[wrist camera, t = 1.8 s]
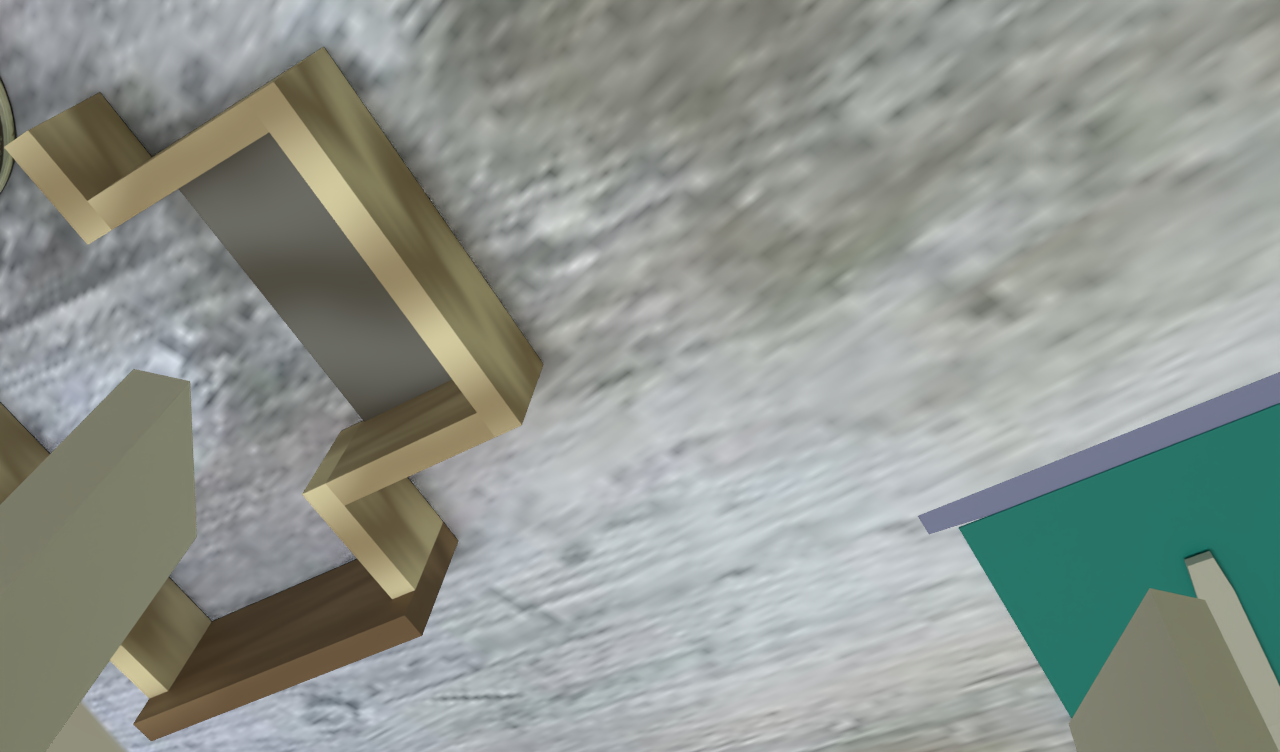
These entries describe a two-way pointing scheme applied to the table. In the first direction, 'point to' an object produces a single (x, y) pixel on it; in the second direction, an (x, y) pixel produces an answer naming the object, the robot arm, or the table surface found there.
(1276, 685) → the place mat
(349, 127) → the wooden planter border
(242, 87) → the table surface
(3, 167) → the coffee can
